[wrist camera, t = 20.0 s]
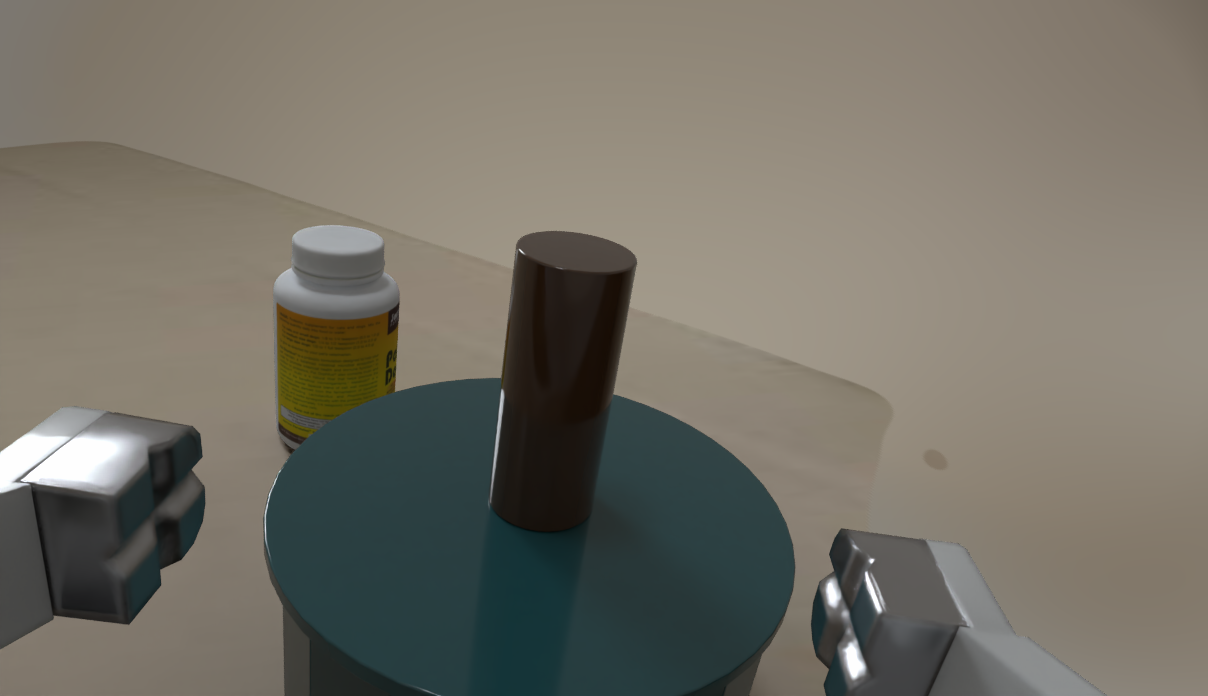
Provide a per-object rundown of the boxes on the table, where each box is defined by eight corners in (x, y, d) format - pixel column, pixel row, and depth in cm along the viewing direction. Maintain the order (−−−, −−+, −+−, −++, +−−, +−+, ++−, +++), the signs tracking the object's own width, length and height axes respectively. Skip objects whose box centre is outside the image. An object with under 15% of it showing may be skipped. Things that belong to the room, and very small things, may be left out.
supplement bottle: (401, 458, 39) (412, 260, 35) (278, 469, 37) (274, 259, 33) (384, 401, 44) (392, 220, 39) (273, 407, 41) (269, 216, 37)
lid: (881, 735, 19) (1017, 415, 15) (195, 771, 15) (159, 373, 12) (702, 412, 31) (752, 198, 28) (308, 394, 28) (308, 149, 25)
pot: (775, 923, 22) (864, 703, 19) (246, 979, 19) (230, 730, 16) (659, 579, 34) (699, 406, 31) (321, 581, 31) (323, 388, 28)
